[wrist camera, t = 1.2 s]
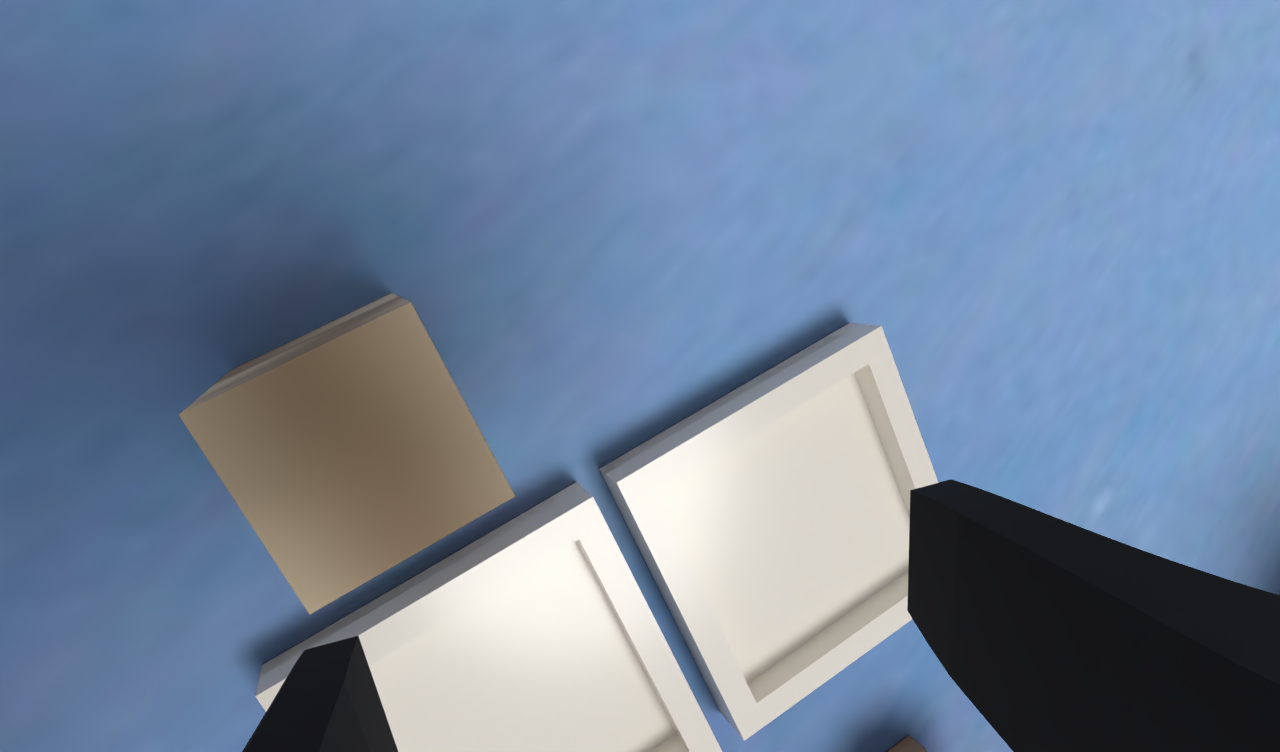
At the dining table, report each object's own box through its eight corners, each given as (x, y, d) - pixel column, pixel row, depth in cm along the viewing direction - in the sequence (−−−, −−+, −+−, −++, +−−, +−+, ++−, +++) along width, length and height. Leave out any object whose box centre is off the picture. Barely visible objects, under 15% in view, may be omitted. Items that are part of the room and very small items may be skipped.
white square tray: (435, 915, 21) (441, 960, 20) (262, 665, 19) (255, 696, 18) (701, 726, 24) (724, 755, 22) (576, 481, 21) (592, 496, 20)
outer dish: (721, 713, 24) (744, 741, 22) (598, 468, 21) (616, 482, 20) (938, 559, 26) (971, 575, 25) (849, 322, 24) (881, 325, 22)
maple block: (320, 513, 19) (309, 614, 13) (230, 370, 18) (178, 415, 12) (468, 433, 20) (515, 496, 14) (391, 292, 19) (411, 302, 13)
